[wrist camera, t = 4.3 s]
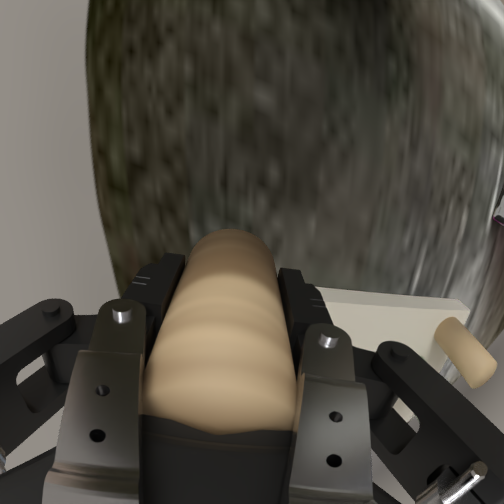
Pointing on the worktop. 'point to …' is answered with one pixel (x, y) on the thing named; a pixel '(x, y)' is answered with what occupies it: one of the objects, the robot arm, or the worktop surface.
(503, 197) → the candy bar box
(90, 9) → the worktop surface
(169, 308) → the loose leg
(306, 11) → the worktop surface
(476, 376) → the stool seat
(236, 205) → the worktop surface
